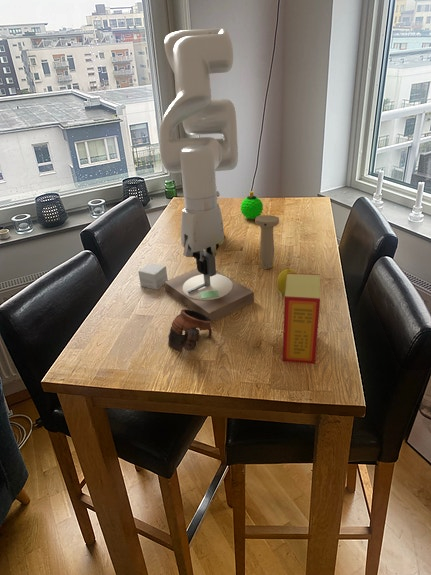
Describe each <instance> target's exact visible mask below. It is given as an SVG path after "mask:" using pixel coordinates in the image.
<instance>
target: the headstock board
mask: <svg viewBox="0 0 431 575" xmlns="http://www.w3.org/2000/svg"><path fill="white" fill-rule="evenodd" d="M201 274H202V273H200V272H199V271H198V270H197V268H195V269H192V270H189V271H186V272H185V273H182V274H179V275H177V276H175V277H172V278H170V279H168V281H165V282H164V288H165V290H164V291H165V293H167V294H168V295H170V296H171V297H173V298H174V299H176V300H177V301H178V302H180V303H181V304H182V305H183V306H185V307H186V308H188V310H192V311H196V312H199V313H201V314H203V315H205V316H207V317H208V318H210V319H211V324H212V323H214V322H217V321H219V320H220V319H222V318H224V317H227V316H229V315H230V314H232V313H235V312H237V311H238V310H240V309H242V308H244V307H246V306H248V305H250V304H252V303H254V302H255V291H254V290H252V289H250V288H248V287H247V286H244V284H241V283H240V282H238V281H236V280H234V279H232V278H231V277H229V276H227V275H226V274H224V273H222V272H221V271H218V270H217V269H216V274H219V275H223V276H226V277H227V278H229V279H230V280H231V281H232V283H233V288H232V290H231V291H230V292H229V293H228V294H227V295H225V296H223V297H221V298H218V299H213V300H197V299H193V298H190V297H188V296H187V295H185V294H184V292H183V285H184V283H185V282H186V281H187V280H188V279H190V278H192V277H194V276H197V275H201Z"/></svg>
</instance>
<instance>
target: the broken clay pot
mask: <svg viewBox="0 0 431 575" xmlns="http://www.w3.org/2000/svg"><path fill="white" fill-rule="evenodd" d="M211 324H212V323H211V319H210V318H208V317H207V316H205V315H203V314H201V313H199V312H196V311H192V310H191V309H189V308H188V309H186V308H185V309H181V310H180V314H178V315H176V317H175V318H174V319H173V320H172V323H171V326H170V329H169V333H168V337H167V338H168V342H167V344H168V346H169V347H170V348H171V349H172V350H174V351H176V352H177V353H180V354H182V353H183V349H184V350H186V351H194V350H195V349H196V347H197V343H198V341H199V338H200V337H201V336H200V335H201V334H200V331H208V335H207V336H208V338H209V339H212V336H213V335H212V333H213V331H212V326H211ZM183 331H184V333H183Z"/></svg>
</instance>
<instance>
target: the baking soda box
mask: <svg viewBox="0 0 431 575" xmlns="http://www.w3.org/2000/svg"><path fill="white" fill-rule="evenodd" d="M320 278H321V275H320V274H318V273H317V274H316V273H297V272H296V273H287V280H286V289H285V295H284V301H283V302H284V304H283V305H284V306H283V334H282V335H283V342H282V343H283V344H282V345H283V346H282V362H288V363H289V362H291V363H302V364H316V358H317V357H316V354H317V342H318V333H319V332H318V331H319V330H318V329H319V318H320V307H321V306H320V304H321V282H320V281H321V279H320Z"/></svg>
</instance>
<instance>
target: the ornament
mask: <svg viewBox="0 0 431 575" xmlns="http://www.w3.org/2000/svg"><path fill="white" fill-rule="evenodd" d="M263 207H264V205H263V202H262V200H261V199H260V198H259V197H257V196H256V195H254V191H253V190H252V191H249V195H248V196H247V197H245V198H244V199H243V200H242V201H241V204H240V211H241V215H243V216H244V218H246V219H250V220H255V218H256V217H257V216H261V214H262V213H263V210H264V208H263Z"/></svg>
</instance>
